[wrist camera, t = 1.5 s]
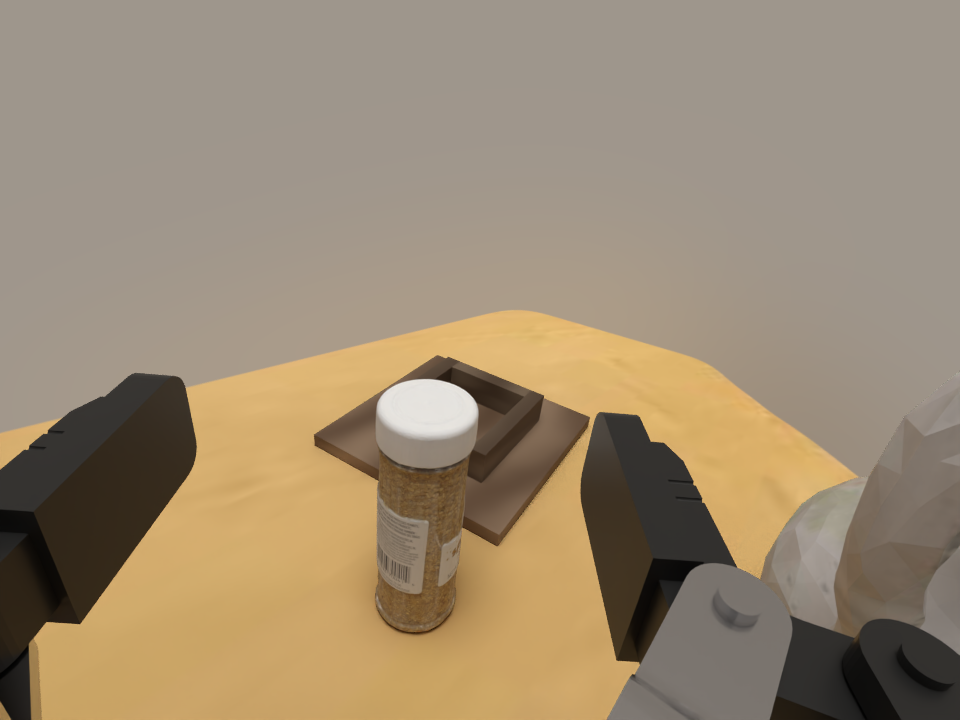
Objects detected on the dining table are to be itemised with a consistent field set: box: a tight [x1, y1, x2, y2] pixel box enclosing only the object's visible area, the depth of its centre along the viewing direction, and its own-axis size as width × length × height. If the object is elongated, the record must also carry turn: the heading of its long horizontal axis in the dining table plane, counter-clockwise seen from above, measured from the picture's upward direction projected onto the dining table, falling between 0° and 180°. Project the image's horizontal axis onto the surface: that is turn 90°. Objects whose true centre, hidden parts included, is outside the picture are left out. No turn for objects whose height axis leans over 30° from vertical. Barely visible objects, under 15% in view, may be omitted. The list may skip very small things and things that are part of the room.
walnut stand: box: [314, 355, 590, 546], centre depth 42 cm, size 16×16×4 cm
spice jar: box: [375, 379, 479, 632], centre depth 27 cm, size 5×5×13 cm
